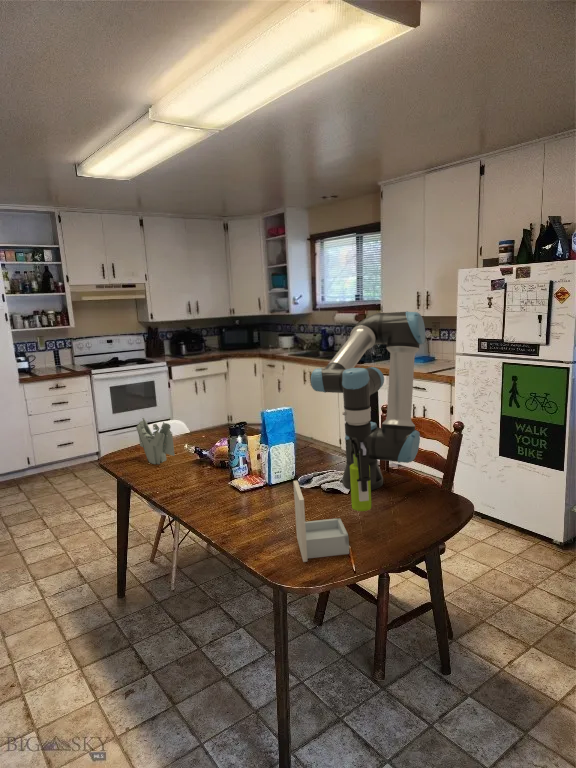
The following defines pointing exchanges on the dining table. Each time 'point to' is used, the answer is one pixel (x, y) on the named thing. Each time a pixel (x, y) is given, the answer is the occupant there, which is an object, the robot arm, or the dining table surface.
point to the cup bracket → (318, 533)
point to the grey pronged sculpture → (156, 441)
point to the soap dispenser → (355, 501)
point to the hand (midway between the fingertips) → (361, 495)
